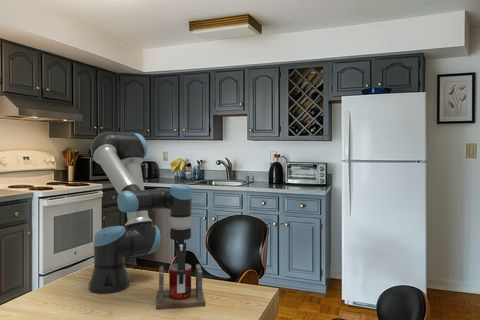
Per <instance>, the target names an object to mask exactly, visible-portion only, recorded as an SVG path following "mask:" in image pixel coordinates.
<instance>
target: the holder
mask: <svg viewBox="0 0 480 320" xmlns="http://www.w3.org/2000/svg"><path fill="white" fill-rule="evenodd" d="M164 268H165V266H164V265H159V269H158V270H159V271H158V275H159V276H158V290H156V294H155V295H156V297H155V310H156V311H157V310H169V309H184V308H198V307H200V308H201V307H206V299H205V295H204V292H203V270H202V267H201V264H200V263H196V264H195V288H191V295H190V297H189V298H187V299H183V300H176V299H172V298H171V297H170V295H169V289H168V290H166V289H165V290H164V285H165V283H164V281H165V280H164Z"/></svg>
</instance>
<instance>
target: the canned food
mask: <svg viewBox="0 0 480 320" xmlns="http://www.w3.org/2000/svg"><path fill="white" fill-rule="evenodd" d="M176 263H177V264H176ZM176 263H173V264H170V265H169V269H168V270H169V272H168V273H169V281H168V286H169V287H168V290H169V295H170V297H171V298H172V299H176V300H183V299H187V298H189V297H190V295H191V289H192V265H191V264H189V263H185V271H186V273H185V293H177V275H176V272H178V262H176ZM179 271H183V270H179Z"/></svg>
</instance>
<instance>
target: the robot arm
mask: <svg viewBox="0 0 480 320" xmlns="http://www.w3.org/2000/svg"><path fill="white" fill-rule="evenodd" d="M147 153H148V144H147V141H146V139H145V137H144V136H143V135H142V134H140V133H136V132H132V131H131V132H123V131H121V132H119V131H105V132H102V133H99V134H98V135H97V136H95V137H94V139H93V140H92V143H91V145H90V154H91V157H92V158H93V161H94V162H95V163H97V164H98V165H100V167H101V169H102V170H103V172H104V173H105V175H106V176H107V178H108V180H109V181H110V183H111V184H112V186H113V188H114V190H115V191H116V192H117V194H118V195H117V199H116V204H117V208H118V210H119V211H120V212H122V213H126V217H127V222H126V223H125V225H124V226H123V225H116V226H113V225H112V226H107V227H104V228H101V229H99V230H97V231H96V232H95V234H94V236H93V237H94V238H93V272H92V275H91V279H90V280H89V283H88V289H89V291H90V292H93V293H95V294H111V293H112V294H113V293H117V292H121V291H124V290H126V289H128V288H129V286H130V277H129V276H128V272H127V269H126V265H125V264H126V262H125V261H126V259H127V258H133V257H139V256H146V255H148V254H153V253H155V252H156V251H157V250H158V249H159V247H160V244H161V231H160V228H159V227H158V226H157V225H155V224H154V223H153V220H152V219H151V218H150V217H149V212H148V211H155V210H156V211H157V210H170V218H168V222H170V223H169V224H170V226H169V227H171V228H170V229H169V233H170V234H169V238H170V239H171V240H173V241H176V242H175V243H174V248H175V249H174V250H175V259H176V260H175V262H176V263H175V264H177V263H178V272H176V275H177V293H185V273H186V271H185V264H186V255H187V254H186V253H187V251H186V250H187V243H186V242H185V240H190V239H191V238H192V228H191V227H192V197H193V196H192V187H191V186H190V185H189V184H188V185H187V184H174V185H173V184H172V185H171V187H170V188H167V187H166V188H165V187H163V188H162V187H160V188H156V189H145V186H144V179H143V171H142V163H143V162H144V158H146V156H147ZM179 270H183V271H179Z"/></svg>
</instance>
